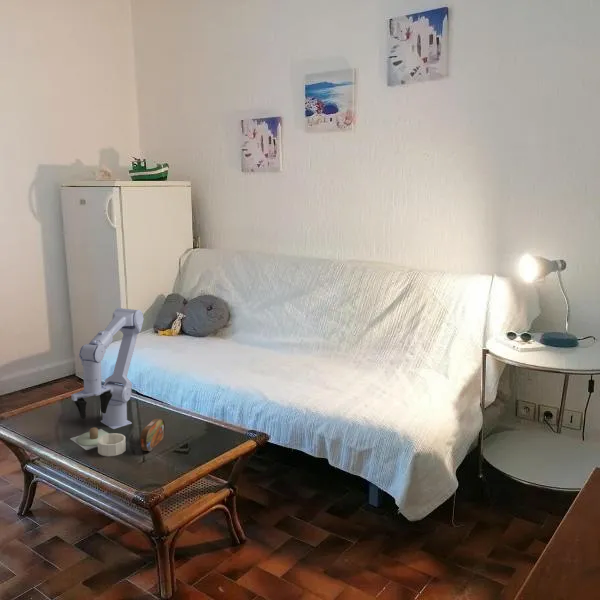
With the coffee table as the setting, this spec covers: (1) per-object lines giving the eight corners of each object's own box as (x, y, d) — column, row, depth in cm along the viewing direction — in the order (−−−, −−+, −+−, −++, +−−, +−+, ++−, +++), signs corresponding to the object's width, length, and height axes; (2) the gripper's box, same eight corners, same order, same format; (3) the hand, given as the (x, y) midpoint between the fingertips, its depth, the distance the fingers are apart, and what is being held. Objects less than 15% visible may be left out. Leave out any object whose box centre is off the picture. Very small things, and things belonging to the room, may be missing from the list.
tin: (147, 455, 200) (147, 432, 198) (138, 454, 200) (138, 431, 198) (166, 436, 214) (165, 415, 212) (157, 435, 215) (157, 414, 213)
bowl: (93, 450, 202) (92, 438, 201) (117, 442, 208) (116, 431, 207) (106, 460, 196) (106, 447, 195) (130, 451, 202) (130, 439, 201)
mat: (69, 439, 209) (69, 438, 209) (101, 429, 217) (101, 428, 217) (86, 451, 201) (86, 450, 201) (118, 440, 209) (118, 439, 209)
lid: (71, 438, 209) (71, 428, 208) (100, 429, 217) (100, 420, 216) (86, 449, 201) (86, 438, 201) (116, 439, 209) (115, 429, 208)
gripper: (77, 385, 196) (79, 424, 199) (117, 376, 207) (118, 413, 209) (68, 380, 201) (69, 418, 204) (107, 371, 212) (108, 407, 214)
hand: (93, 415), depth 207 cm, fingers open, 7 cm apart
